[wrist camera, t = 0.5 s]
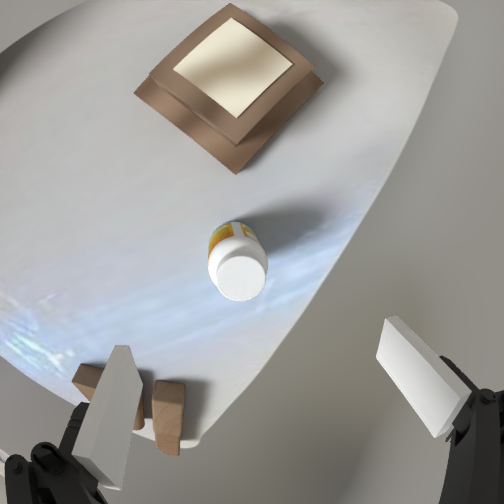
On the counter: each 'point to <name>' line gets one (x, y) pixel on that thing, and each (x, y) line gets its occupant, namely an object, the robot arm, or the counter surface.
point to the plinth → (230, 85)
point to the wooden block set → (163, 407)
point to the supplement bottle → (237, 261)
